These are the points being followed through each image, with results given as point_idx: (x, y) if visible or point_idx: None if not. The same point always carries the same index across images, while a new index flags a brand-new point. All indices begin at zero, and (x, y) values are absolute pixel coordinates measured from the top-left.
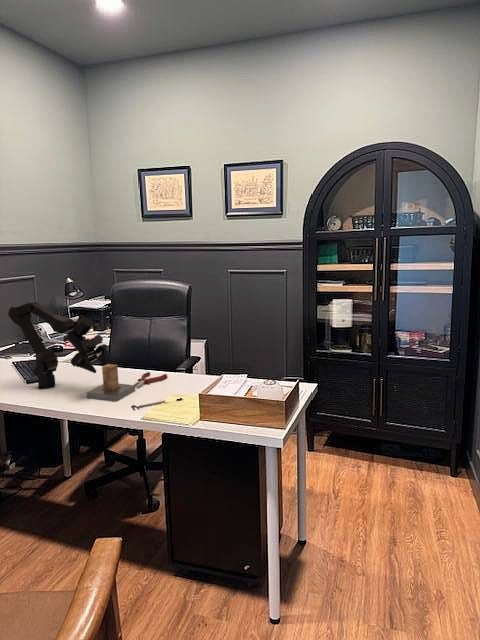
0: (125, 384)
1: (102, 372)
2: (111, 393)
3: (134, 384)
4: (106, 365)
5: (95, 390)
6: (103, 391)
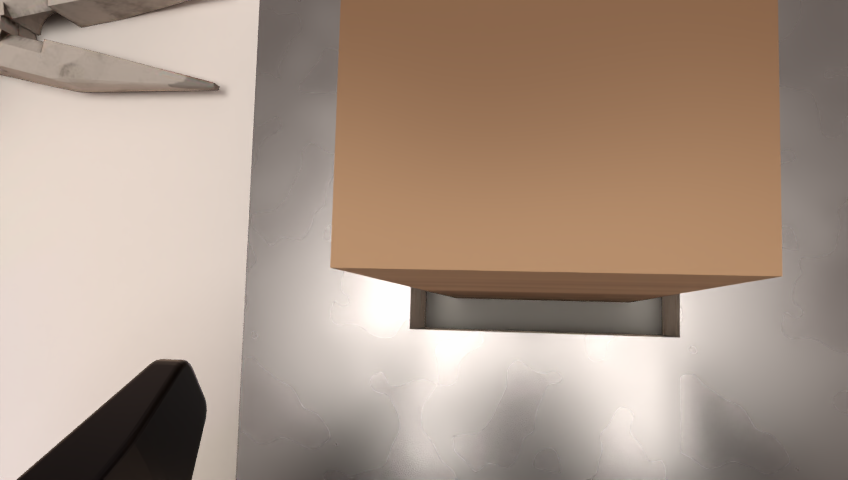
0: (269, 96)
1: (718, 286)
2: (781, 30)
3: (124, 60)
4: (553, 209)
5: (734, 425)
6: None
